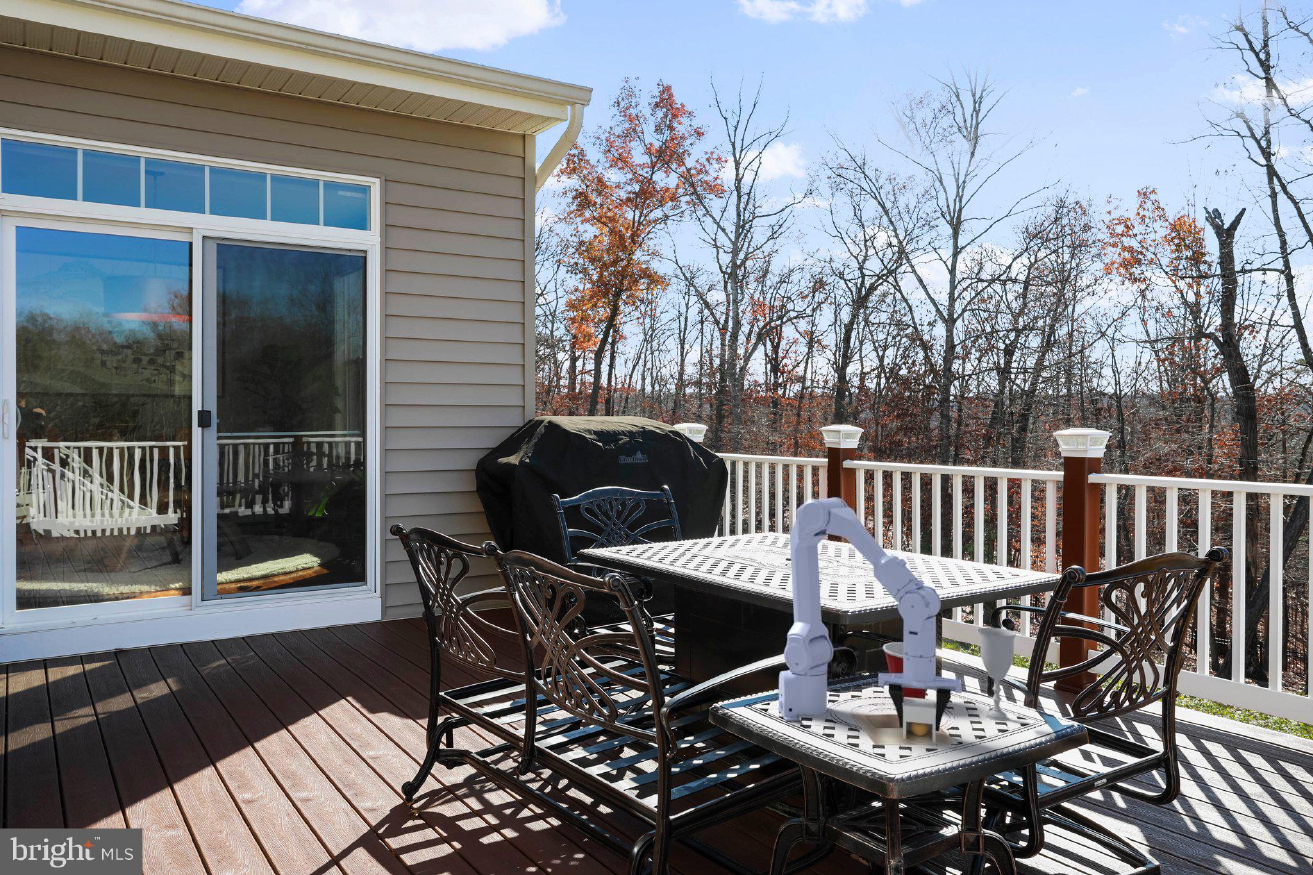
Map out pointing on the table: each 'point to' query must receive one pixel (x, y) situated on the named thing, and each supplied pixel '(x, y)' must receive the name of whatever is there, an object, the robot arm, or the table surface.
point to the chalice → (997, 662)
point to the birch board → (895, 731)
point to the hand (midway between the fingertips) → (919, 727)
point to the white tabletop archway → (919, 714)
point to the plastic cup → (900, 668)
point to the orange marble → (919, 728)
